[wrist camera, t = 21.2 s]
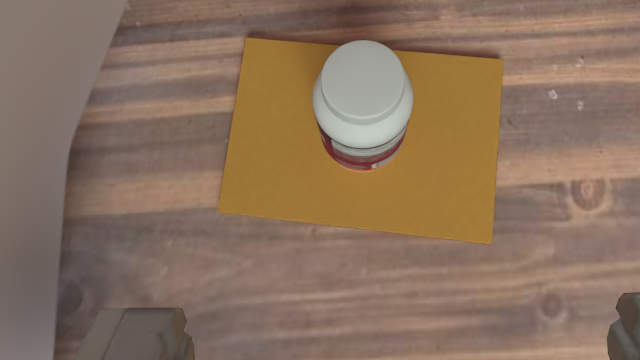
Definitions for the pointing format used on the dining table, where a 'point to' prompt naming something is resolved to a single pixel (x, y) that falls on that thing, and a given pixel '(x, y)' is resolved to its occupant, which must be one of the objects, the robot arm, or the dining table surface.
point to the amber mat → (375, 186)
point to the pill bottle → (362, 105)
